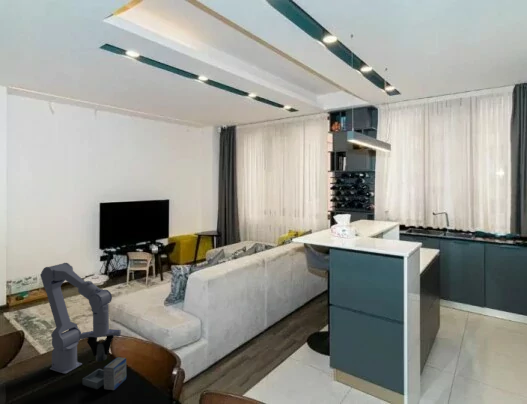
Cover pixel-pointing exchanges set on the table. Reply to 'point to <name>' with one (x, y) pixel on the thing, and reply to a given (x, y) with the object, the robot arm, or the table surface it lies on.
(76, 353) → the robot arm
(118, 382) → the medicine box
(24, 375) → the table surface
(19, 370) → the table surface
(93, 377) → the trough
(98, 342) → the battery cell
